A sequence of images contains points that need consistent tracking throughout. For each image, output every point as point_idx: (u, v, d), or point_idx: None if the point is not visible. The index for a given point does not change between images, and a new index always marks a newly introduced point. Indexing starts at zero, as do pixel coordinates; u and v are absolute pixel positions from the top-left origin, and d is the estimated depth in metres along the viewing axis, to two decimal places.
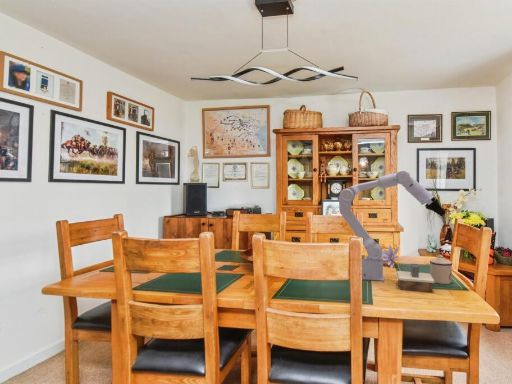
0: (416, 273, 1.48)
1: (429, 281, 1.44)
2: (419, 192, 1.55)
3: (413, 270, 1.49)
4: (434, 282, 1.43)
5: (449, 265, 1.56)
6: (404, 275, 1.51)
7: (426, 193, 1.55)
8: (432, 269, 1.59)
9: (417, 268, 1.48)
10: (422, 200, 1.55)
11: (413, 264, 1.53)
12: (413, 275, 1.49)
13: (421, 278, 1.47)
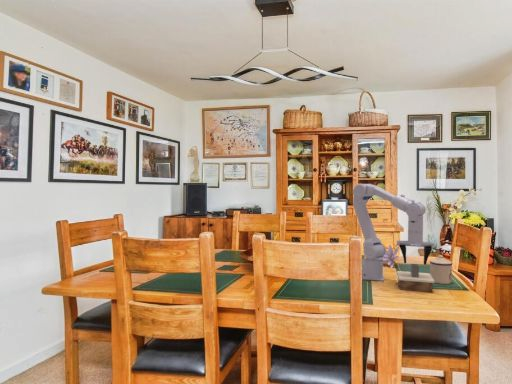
0: (416, 273, 1.48)
1: (429, 281, 1.44)
2: (408, 232, 1.52)
3: (413, 270, 1.49)
4: (434, 282, 1.43)
5: (449, 265, 1.56)
6: (404, 275, 1.51)
7: (410, 238, 1.50)
8: (432, 269, 1.59)
9: (417, 268, 1.48)
10: None
11: (413, 264, 1.53)
12: (413, 275, 1.49)
13: (421, 278, 1.47)
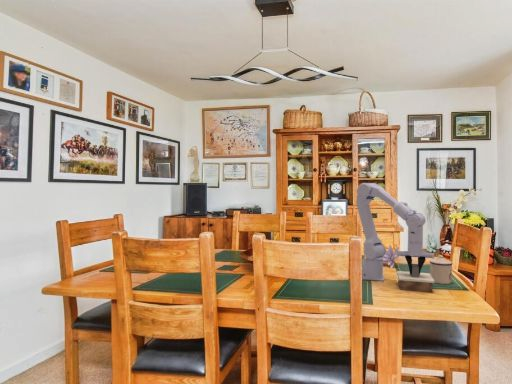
0: (416, 273, 1.48)
1: (429, 281, 1.44)
2: (408, 242, 1.52)
3: (413, 270, 1.49)
4: (434, 282, 1.43)
5: (449, 265, 1.56)
6: (404, 275, 1.51)
7: (409, 248, 1.50)
8: (432, 269, 1.59)
9: (417, 268, 1.48)
10: None
11: (413, 264, 1.53)
12: (413, 275, 1.49)
13: (421, 278, 1.47)
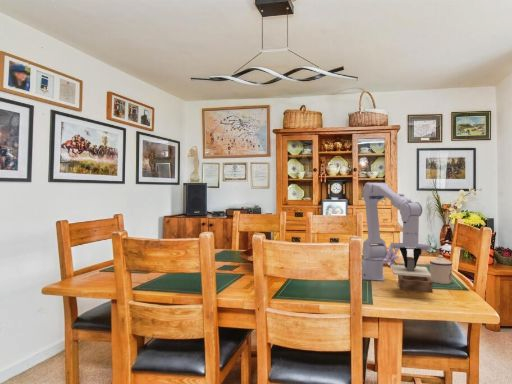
0: (411, 267, 1.38)
1: (425, 275, 1.34)
2: None
3: (408, 264, 1.39)
4: None
5: (449, 265, 1.56)
6: (399, 269, 1.42)
7: (404, 240, 1.40)
8: (432, 269, 1.59)
9: (413, 261, 1.38)
10: None
11: (408, 257, 1.43)
12: (408, 269, 1.39)
13: (417, 272, 1.37)
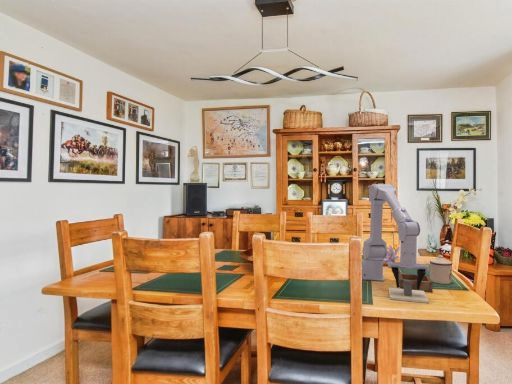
0: (409, 291, 1.35)
1: (423, 301, 1.31)
2: (400, 253, 1.39)
3: (406, 288, 1.36)
4: (428, 302, 1.30)
5: (449, 265, 1.56)
6: (396, 293, 1.39)
7: (402, 260, 1.37)
8: (432, 269, 1.59)
9: (410, 286, 1.35)
10: None
11: (406, 281, 1.40)
12: (406, 294, 1.36)
13: (414, 297, 1.34)
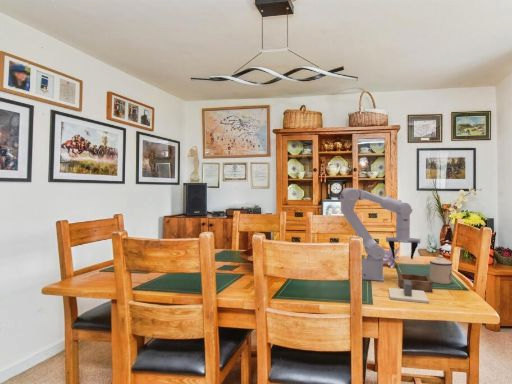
0: (409, 291, 1.35)
1: (423, 301, 1.31)
2: (396, 229, 1.65)
3: (406, 288, 1.36)
4: (428, 302, 1.30)
5: (449, 265, 1.56)
6: (396, 293, 1.39)
7: (397, 234, 1.63)
8: (432, 269, 1.59)
9: (410, 286, 1.35)
10: None
11: (406, 281, 1.40)
12: (406, 294, 1.36)
13: (414, 297, 1.34)
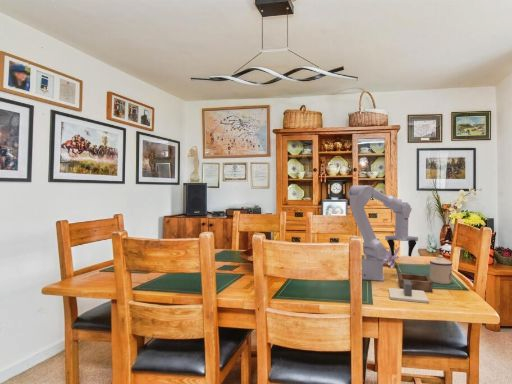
0: (409, 291, 1.36)
1: (423, 301, 1.31)
2: (395, 227, 1.70)
3: (406, 288, 1.36)
4: (428, 302, 1.30)
5: (449, 265, 1.56)
6: (396, 293, 1.39)
7: (397, 233, 1.69)
8: (432, 269, 1.59)
9: (410, 286, 1.35)
10: None
11: (406, 281, 1.40)
12: (406, 294, 1.36)
13: (414, 297, 1.34)
